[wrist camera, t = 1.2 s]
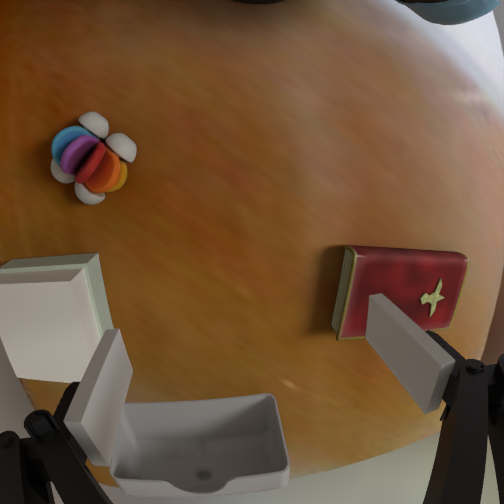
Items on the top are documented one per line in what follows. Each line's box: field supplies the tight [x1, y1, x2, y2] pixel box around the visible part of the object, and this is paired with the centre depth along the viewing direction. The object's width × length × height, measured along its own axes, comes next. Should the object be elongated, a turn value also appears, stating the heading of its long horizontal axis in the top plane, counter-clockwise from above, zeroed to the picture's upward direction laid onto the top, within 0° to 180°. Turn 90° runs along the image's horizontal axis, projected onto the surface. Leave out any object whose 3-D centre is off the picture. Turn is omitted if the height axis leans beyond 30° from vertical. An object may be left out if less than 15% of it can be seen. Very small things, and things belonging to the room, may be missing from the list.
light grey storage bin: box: [110, 393, 290, 497], centre depth 39 cm, size 25×16×12 cm, turn 93°
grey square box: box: [0, 253, 114, 383], centre depth 32 cm, size 14×14×8 cm
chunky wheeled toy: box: [51, 112, 136, 205], centre depth 28 cm, size 8×10×7 cm
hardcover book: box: [331, 245, 470, 341], centre depth 41 cm, size 12×21×4 cm, turn 85°
